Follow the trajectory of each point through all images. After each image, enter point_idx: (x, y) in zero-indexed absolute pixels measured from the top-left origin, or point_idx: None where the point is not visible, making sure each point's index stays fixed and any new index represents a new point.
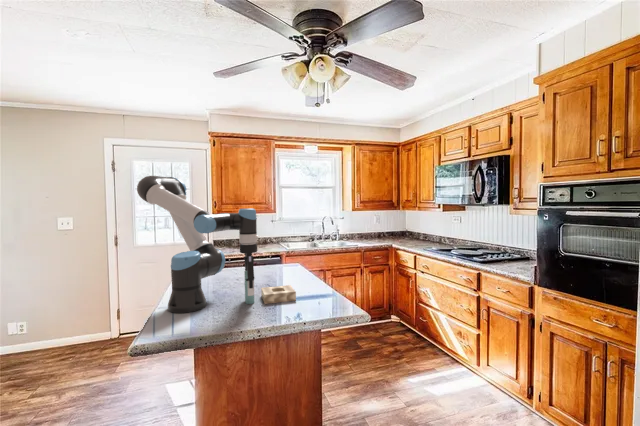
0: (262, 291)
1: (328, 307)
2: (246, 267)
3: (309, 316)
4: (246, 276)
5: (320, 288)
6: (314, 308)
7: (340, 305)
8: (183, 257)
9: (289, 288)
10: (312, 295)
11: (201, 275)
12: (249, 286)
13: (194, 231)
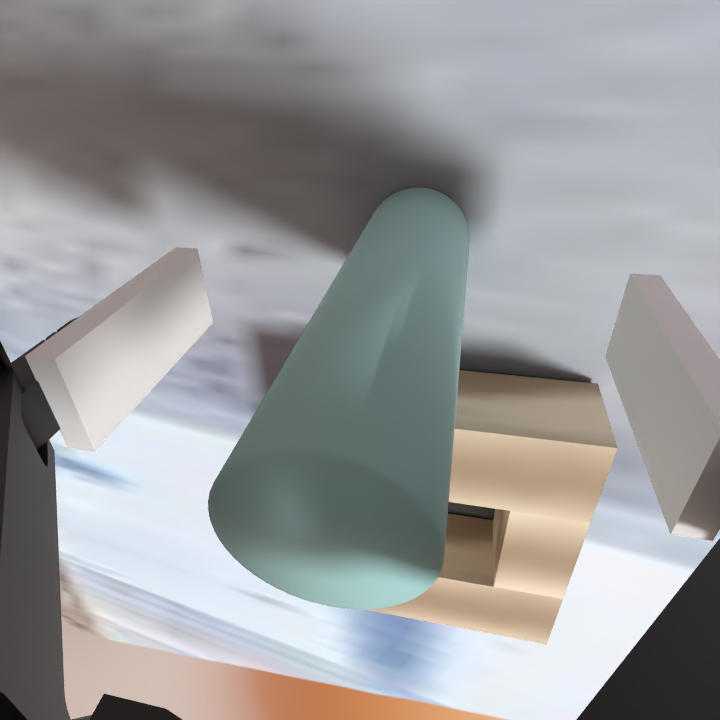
0: (484, 423)
1: (191, 598)
2: (659, 615)
3: (65, 499)
4: (264, 398)
5: (557, 709)
6: (183, 555)
7: (212, 637)
8: None
9: (438, 606)
10: (425, 633)
11: None
12: (59, 328)
13: None
